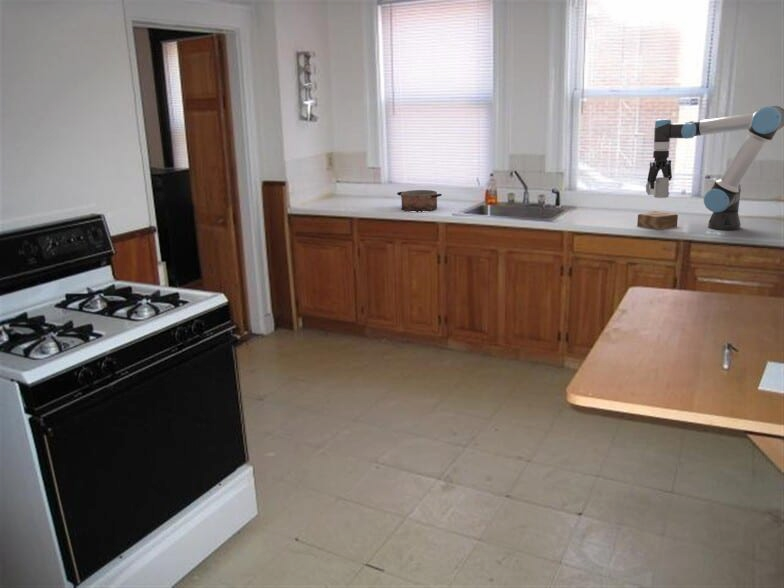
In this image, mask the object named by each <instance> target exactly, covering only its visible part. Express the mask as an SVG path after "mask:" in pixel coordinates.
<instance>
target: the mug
mask: <svg viewBox="0 0 784 588" xmlns="http://www.w3.org/2000/svg"><path fill="white" fill-rule="evenodd" d="M655 183H656V192H655V195H653V197H654V198H656V199H657V198H658V199H665V198H669V195H670V192H669V191H670V190H669V187H670V183H669V178H667V177H660V176H659V177H658V176H657V177H656V180H655ZM645 192H646V193H647V195H648V196H651V195H650V182H648V181H647V182H646V184H645Z"/></svg>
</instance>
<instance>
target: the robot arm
mask: <svg viewBox="0 0 784 588" xmlns="http://www.w3.org/2000/svg"><path fill="white" fill-rule="evenodd" d="M783 127H784V108H782V107H781V106H778V105H774V106H773V105H771V106H764V107H762V108H760V109H758V110H756V111H755V112H752V113H744V114H737V115H729V116H721V117H715V118H708V119H701V120H700V119H699V120H691V121H688V122H687V121H686V122H672V121H671V118H659V119H656V120H655V122H654V129H653V130H654V131H653V132H654V137H653V138H654V139H653V155H652V157H653V159H654V160H653V161H650V162H649V169H648V174H647V182H650V195H649V196H654V195H655V192H656V183H655V180H656V178H658V174H659V171H661V173H662V176H663V177H667V178H669V181H671V180H672V179H673V173H672V160H671V159H668V158H669V157H670V143H671V142H670V141H671V139H693V138H694V137H698V136H707V135H715V134H721V133H730V132H731V133H732V132H741V131H746V132H747V135H746V137H745V138H744V141H743V142H742V143H741V146H740V147H739V149H738V150H737V152H736V154H735V155H734V157H733V158H732V160H731V161H730V164H729V165H728V167H727V168H726V170H725V172H724V173H723V175H722V177H721V178H719V179H716V180H715V182H714V184H713V185H712V187H711V188H710V189H709V190H708V191H707V192H706V193H705V195H704V197H703V204H704V206H705V208H706V209H707V210H709V211H710V212H712V214H711V216H710V219H709V221H708V224H707V227H708V228H710V229H713V230H720V231H721V230H722V231H735V230H736V231H737V230H740V229H741V225H742V224H741V219H740V216H739V207H740V201H741V192H742V186H741V185H742V184H741V182H743V181H742V180H743V179H744V177H745V176H746V175H747V173H748V172H749V169H750V168H751V167H752V165H753V163H754V162H755V160H756V159H757V157H758V156H759V154H760V153H761V151H762V149H763V147H764V146H765V145H766V143H768V142H771V141H772V140H773V138H775V137H774V136H775V135H776V134H777V132H778V131H779V130H780V129H782V128H783Z"/></svg>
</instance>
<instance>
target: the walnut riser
mask: <svg viewBox="0 0 784 588" xmlns="http://www.w3.org/2000/svg"><path fill="white" fill-rule="evenodd" d="M678 217H679V214H677V213H671V212H670V213H669V212H663V211H656V210H655V211H649V212H643V213H639V214H637V227H641V226H642V227H643V228H647V227H648V228H647V229H652V228H654V229H653V230H658V229H661V230H665V228H666V229H670V227H671V228H676V227H678ZM642 227H641V228H642Z"/></svg>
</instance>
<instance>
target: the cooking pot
mask: <svg viewBox="0 0 784 588" xmlns="http://www.w3.org/2000/svg"><path fill="white" fill-rule="evenodd" d="M437 192H438V191H436V190H430V189H416V190H415V189H412V190H406V191H398V192H397V193H396V195H397V196H400V197H401V210H402V211H403V210H405V211H404V212H407V211H421V212H420V213H423V212H422V211H429V212H433V211H436V210H437V209H438V197H441V196H443V195H442V193H437Z"/></svg>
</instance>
